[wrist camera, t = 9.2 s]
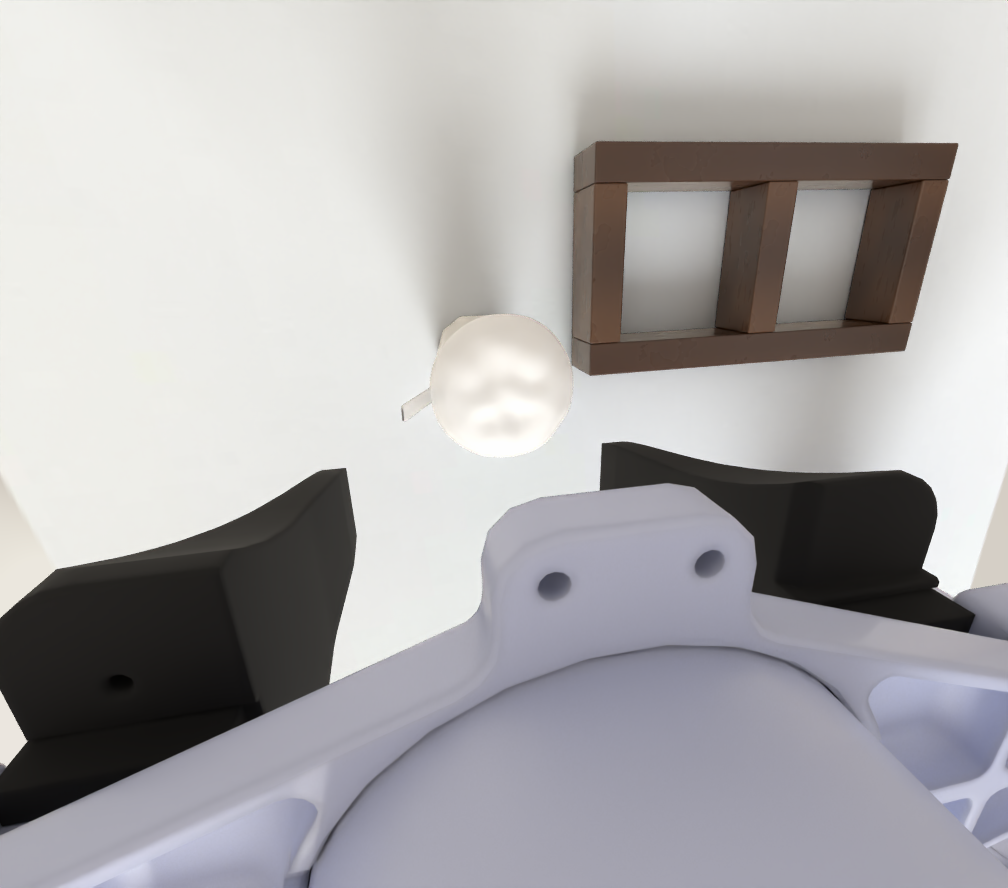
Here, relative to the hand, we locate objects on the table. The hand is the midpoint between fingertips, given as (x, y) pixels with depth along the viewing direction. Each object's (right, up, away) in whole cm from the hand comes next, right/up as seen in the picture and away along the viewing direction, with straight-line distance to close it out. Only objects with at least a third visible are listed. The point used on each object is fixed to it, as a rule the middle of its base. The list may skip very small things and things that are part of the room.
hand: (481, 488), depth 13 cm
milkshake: (-1, +6, +9) cm, 11 cm away
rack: (+12, +10, +10) cm, 19 cm away
